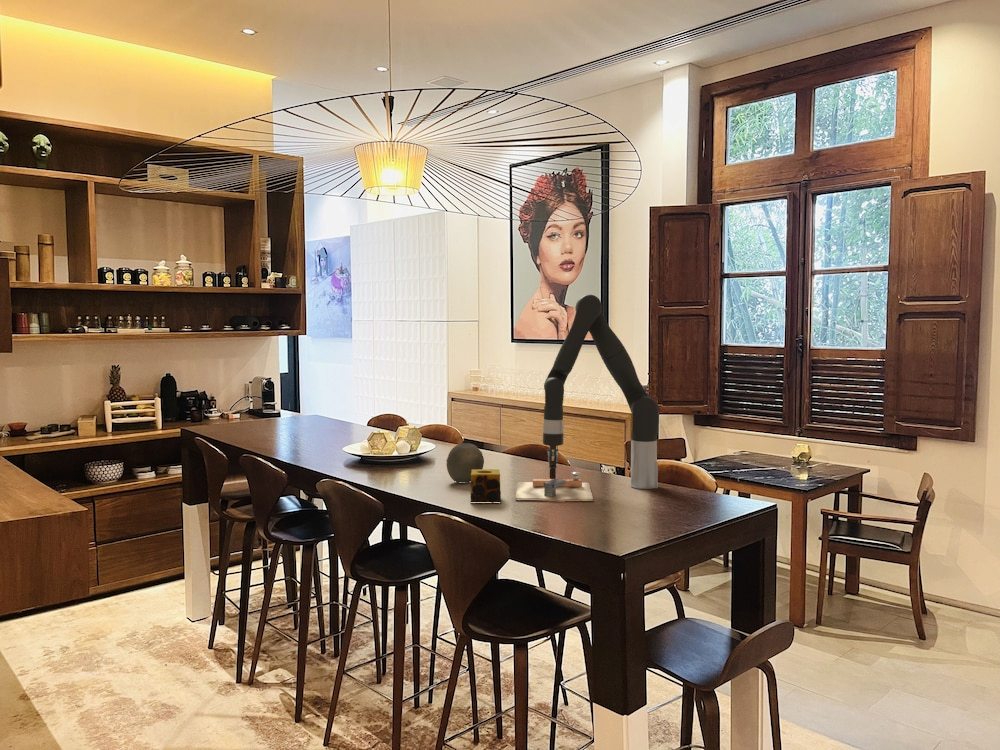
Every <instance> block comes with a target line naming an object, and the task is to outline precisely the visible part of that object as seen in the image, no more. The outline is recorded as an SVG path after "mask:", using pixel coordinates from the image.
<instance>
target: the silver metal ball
mask: <svg viewBox="0 0 1000 750" xmlns="http://www.w3.org/2000/svg"><path fill="white" fill-rule="evenodd" d="M570 475H572V479H573V480H579V479H580V478H579V477H580V475H582V474H581V472H579V471H572V472H570Z"/></svg>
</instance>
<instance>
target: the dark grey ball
mask: <svg viewBox="0 0 1000 750" xmlns="http://www.w3.org/2000/svg"><path fill="white" fill-rule="evenodd" d="M484 463H485V459H484V455H483V452H482V451H481V449H480V448H479V447H478V446H477V445H476V444H473V443H468V442H467V443H466V442H465V443H464V442H463V443H459V444H457V445H455V446H454V447H453V448H451V449H450V450H449V453H448V455H447V459H446V470H447V473H448V475H449V477H450V478H451V480H452V481H454V482H455V481H456V483H457V482H468V483H470V482H469V481H471V470H476V469H484Z"/></svg>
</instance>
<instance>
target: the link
mask: <svg viewBox="0 0 1000 750" xmlns="http://www.w3.org/2000/svg"><path fill="white" fill-rule="evenodd" d="M559 479H560V480H566V484H565V485H562V486H571V487H581V486H582V483H583V479H581V478H579V480H573V478H571V479H568V478H566V479H565V478H559ZM551 480H554V479H550V478H546V479H545V478H533V479H532V482H533V486H544V482H548V481H551Z"/></svg>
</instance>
